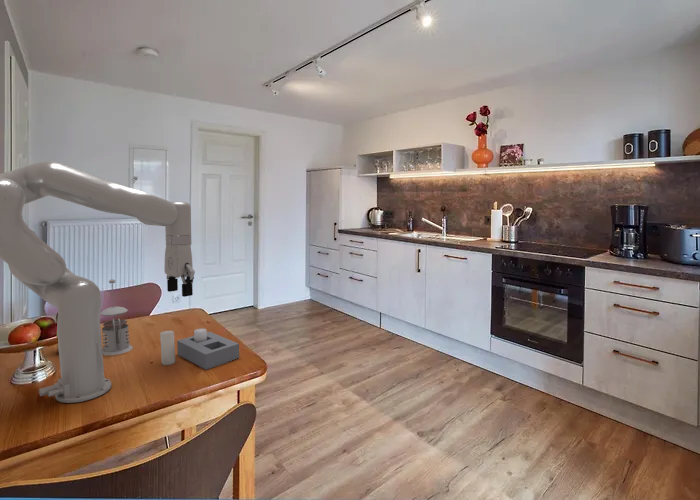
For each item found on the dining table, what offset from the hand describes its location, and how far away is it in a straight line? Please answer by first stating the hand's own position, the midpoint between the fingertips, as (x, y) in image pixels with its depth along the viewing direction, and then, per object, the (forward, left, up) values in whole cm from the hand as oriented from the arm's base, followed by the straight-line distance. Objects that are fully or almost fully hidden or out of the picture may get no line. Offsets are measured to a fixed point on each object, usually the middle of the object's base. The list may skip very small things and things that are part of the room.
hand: (179, 293), depth 126 cm
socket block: (+7, -4, -22) cm, 23 cm away
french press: (-11, +24, -22) cm, 34 cm away
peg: (-4, +1, -22) cm, 23 cm away
